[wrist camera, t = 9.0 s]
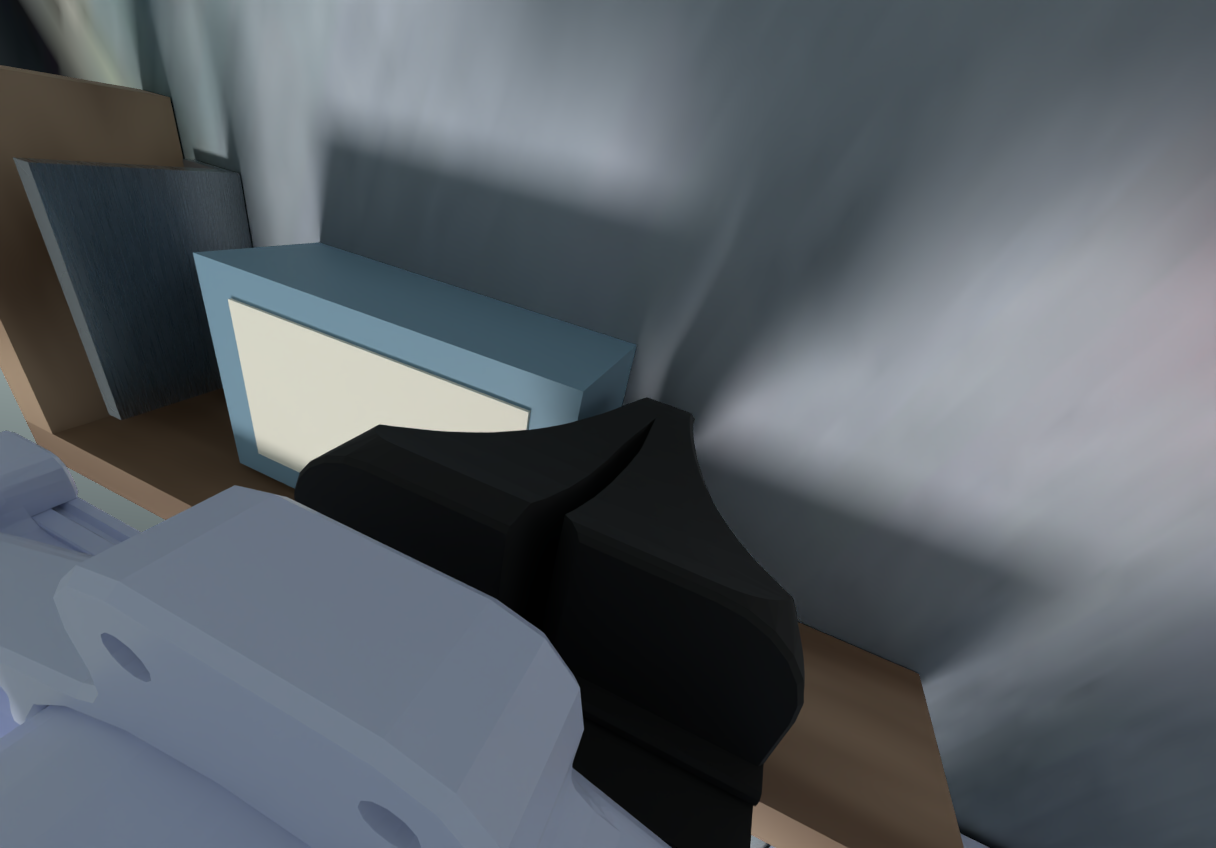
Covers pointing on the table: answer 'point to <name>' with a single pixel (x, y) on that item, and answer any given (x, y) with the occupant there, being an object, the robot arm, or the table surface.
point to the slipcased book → (385, 355)
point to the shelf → (209, 463)
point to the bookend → (138, 268)
